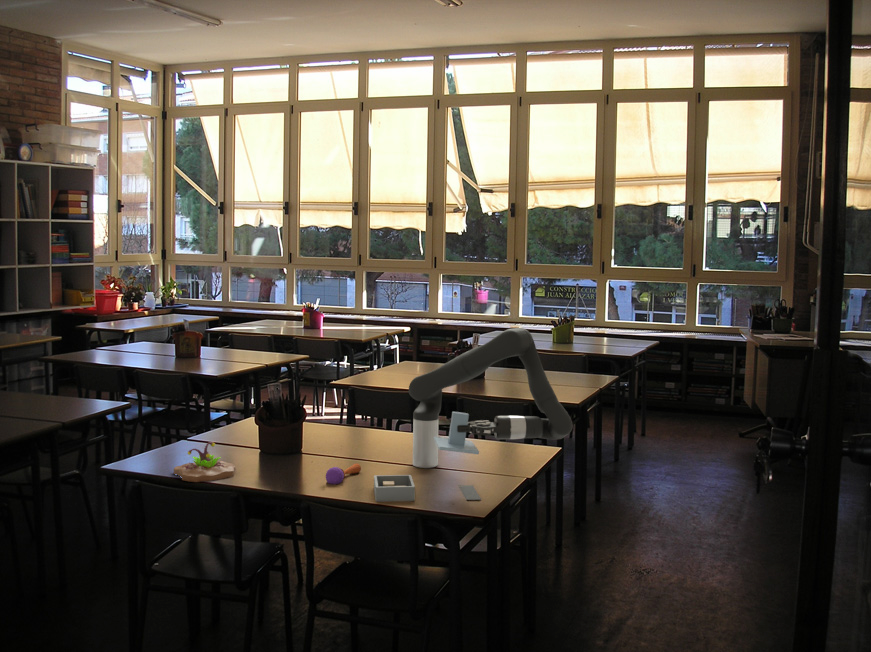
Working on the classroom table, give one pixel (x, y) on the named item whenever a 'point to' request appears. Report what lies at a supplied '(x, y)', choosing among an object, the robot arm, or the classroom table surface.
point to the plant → (205, 467)
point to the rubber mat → (469, 492)
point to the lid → (456, 436)
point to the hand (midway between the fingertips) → (457, 427)
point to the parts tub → (394, 488)
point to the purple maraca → (340, 473)
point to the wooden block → (388, 483)
